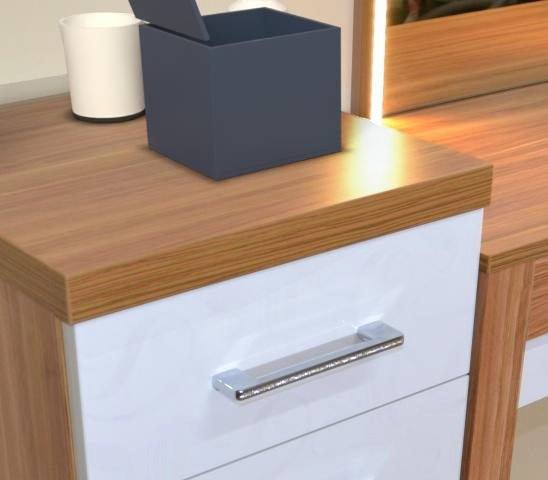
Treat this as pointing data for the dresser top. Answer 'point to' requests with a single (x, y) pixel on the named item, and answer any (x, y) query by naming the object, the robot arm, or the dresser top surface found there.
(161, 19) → the flap
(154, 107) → the carton
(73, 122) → the dresser top surface
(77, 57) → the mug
